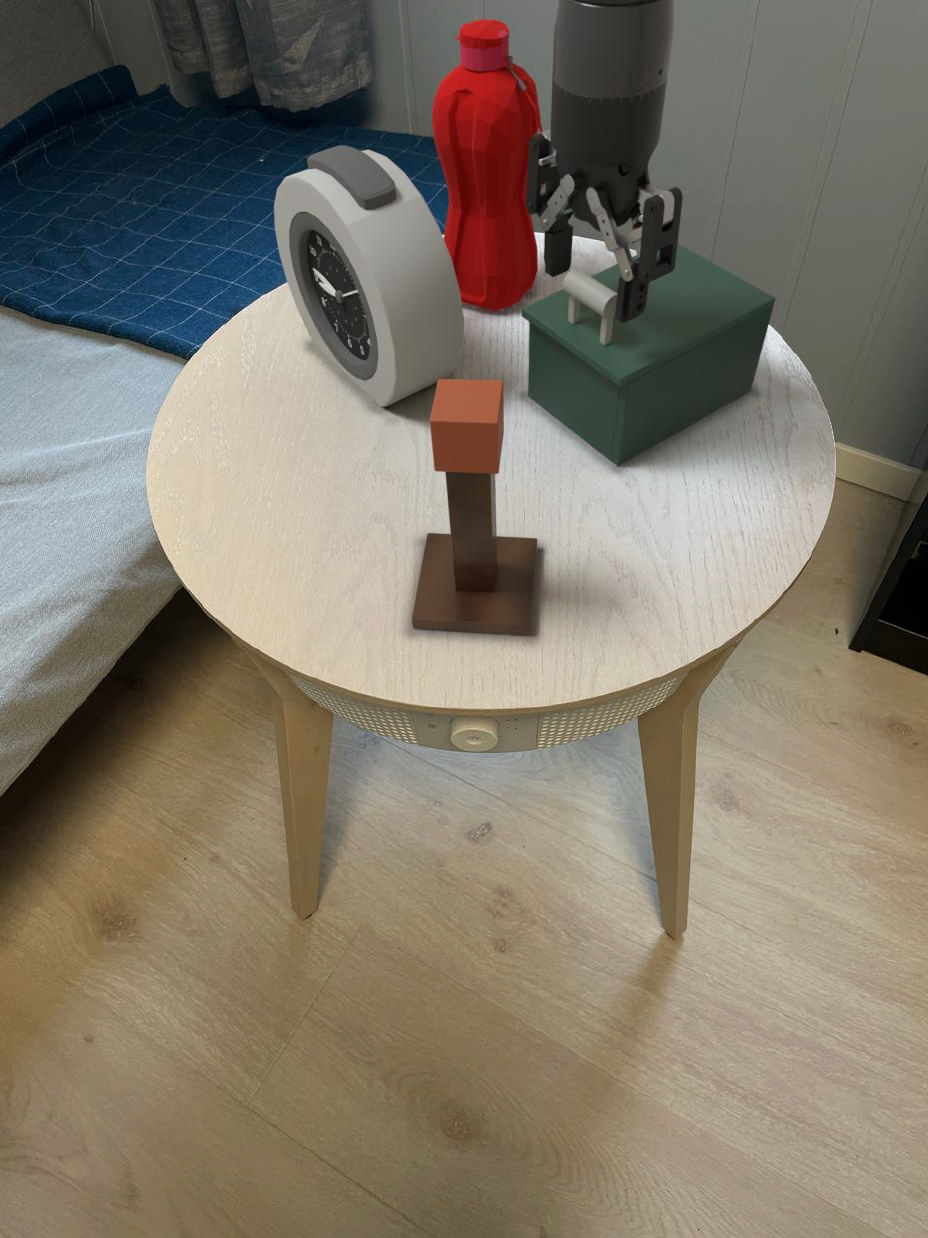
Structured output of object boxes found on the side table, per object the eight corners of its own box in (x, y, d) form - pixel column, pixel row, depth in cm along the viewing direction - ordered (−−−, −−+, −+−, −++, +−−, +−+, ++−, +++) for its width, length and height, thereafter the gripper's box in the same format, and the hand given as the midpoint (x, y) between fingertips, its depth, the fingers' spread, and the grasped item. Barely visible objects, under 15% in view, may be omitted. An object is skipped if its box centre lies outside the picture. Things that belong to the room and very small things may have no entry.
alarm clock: (295, 327, 91) (249, 128, 75) (355, 301, 93) (323, 104, 77) (404, 429, 80) (377, 221, 64) (469, 397, 82) (458, 190, 66)
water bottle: (522, 326, 89) (525, 54, 69) (432, 300, 93) (410, 35, 73) (561, 282, 94) (573, 15, 74) (474, 259, 97) (464, 0, 77)
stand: (537, 547, 70) (541, 410, 59) (530, 635, 64) (533, 502, 53) (428, 542, 71) (412, 405, 60) (412, 628, 65) (392, 496, 54)
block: (503, 431, 57) (503, 379, 54) (498, 474, 55) (497, 422, 52) (442, 429, 58) (438, 377, 55) (434, 471, 55) (429, 420, 52)
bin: (617, 466, 75) (628, 383, 68) (527, 395, 82) (529, 312, 75) (751, 391, 81) (773, 306, 74) (656, 330, 87) (669, 247, 80)
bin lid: (620, 387, 68) (627, 328, 64) (520, 316, 74) (521, 258, 70) (773, 306, 74) (789, 247, 69) (669, 247, 80) (677, 190, 76)
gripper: (731, 86, 53) (688, 316, 66) (582, 24, 61) (570, 243, 73) (642, 121, 51) (616, 353, 64) (498, 52, 58) (500, 273, 71)
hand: (591, 294), depth 69 cm, fingers open, 8 cm apart
